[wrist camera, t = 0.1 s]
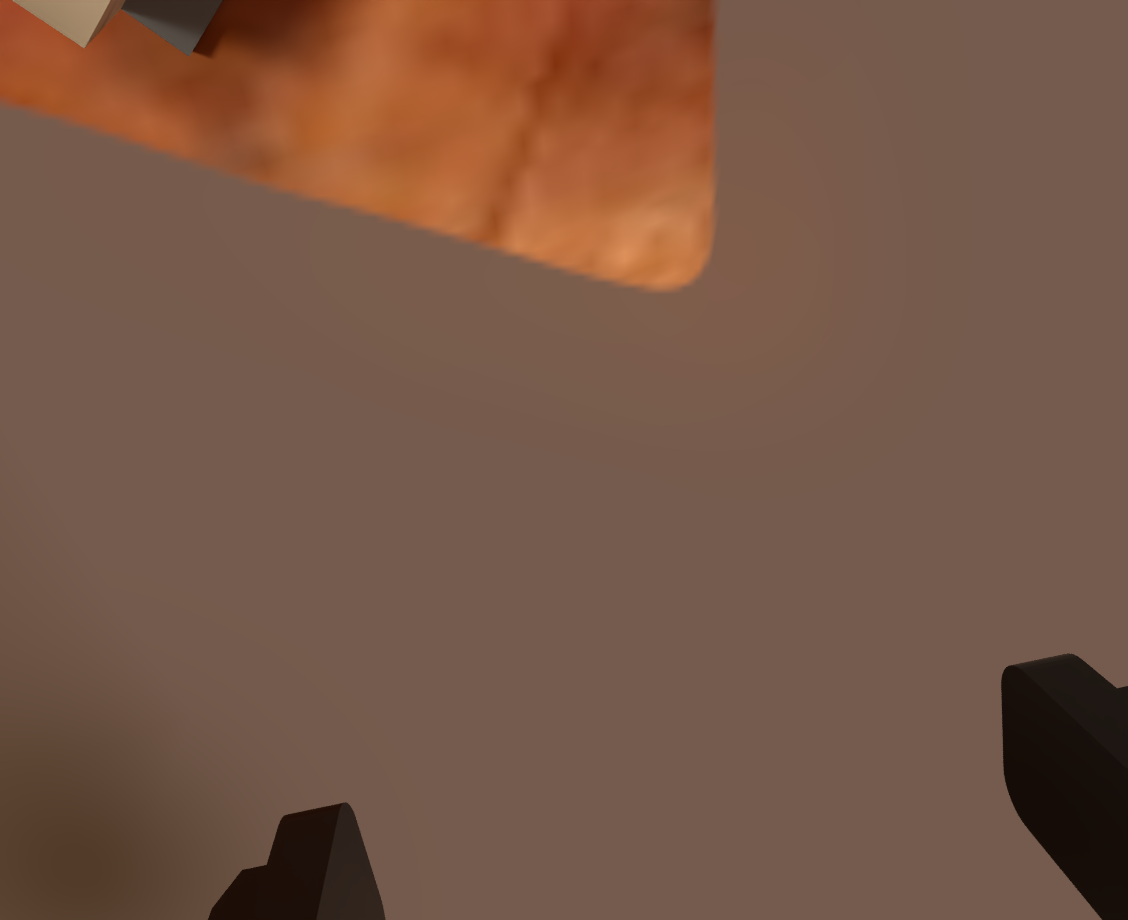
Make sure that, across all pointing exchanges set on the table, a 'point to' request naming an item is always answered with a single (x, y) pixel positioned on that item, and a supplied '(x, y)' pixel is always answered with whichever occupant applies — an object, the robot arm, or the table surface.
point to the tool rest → (174, 19)
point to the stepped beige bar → (74, 16)
